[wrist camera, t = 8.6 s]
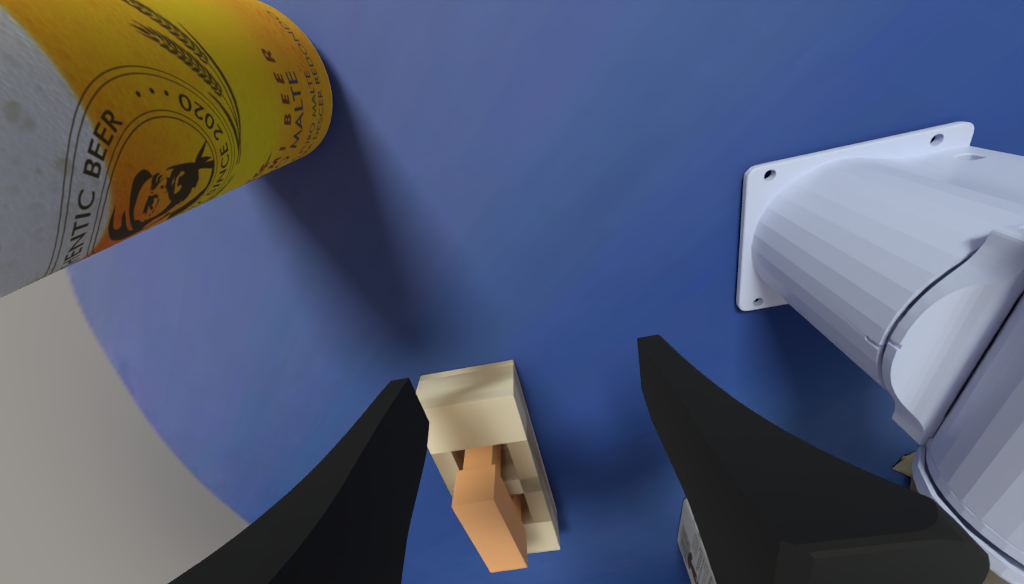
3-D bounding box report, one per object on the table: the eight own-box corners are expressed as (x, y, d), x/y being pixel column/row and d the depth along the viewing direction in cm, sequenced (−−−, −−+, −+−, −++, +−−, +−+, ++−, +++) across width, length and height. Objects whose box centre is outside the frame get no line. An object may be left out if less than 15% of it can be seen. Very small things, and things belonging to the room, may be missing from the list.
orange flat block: (497, 418, 27) (493, 499, 22) (525, 484, 30) (527, 567, 25) (463, 425, 27) (451, 506, 22) (494, 489, 30) (490, 572, 26)
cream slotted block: (513, 359, 25) (513, 394, 22) (556, 510, 33) (560, 549, 30) (420, 375, 26) (410, 411, 23) (485, 519, 33) (482, 558, 31)
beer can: (312, 183, 19) (-94, 433, 6) (178, 107, 18) (-726, 239, 5) (361, 61, 17) (-149, 73, 4) (210, -40, 15) (-1541, -606, 2)
